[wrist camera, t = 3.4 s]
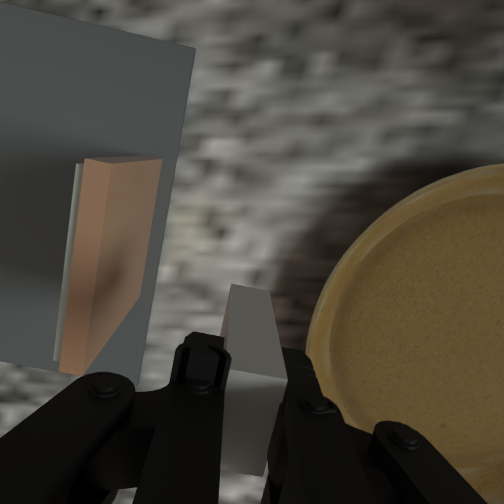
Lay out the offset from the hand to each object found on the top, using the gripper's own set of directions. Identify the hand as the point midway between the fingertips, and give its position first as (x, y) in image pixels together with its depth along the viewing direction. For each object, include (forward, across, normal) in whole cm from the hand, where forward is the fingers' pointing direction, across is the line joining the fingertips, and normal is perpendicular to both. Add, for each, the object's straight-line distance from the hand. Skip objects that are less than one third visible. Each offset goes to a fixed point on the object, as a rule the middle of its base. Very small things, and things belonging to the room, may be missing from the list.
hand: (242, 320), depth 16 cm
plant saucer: (+12, +17, -3) cm, 21 cm away
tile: (+11, -7, 0) cm, 13 cm away
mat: (+11, -12, 0) cm, 17 cm away
